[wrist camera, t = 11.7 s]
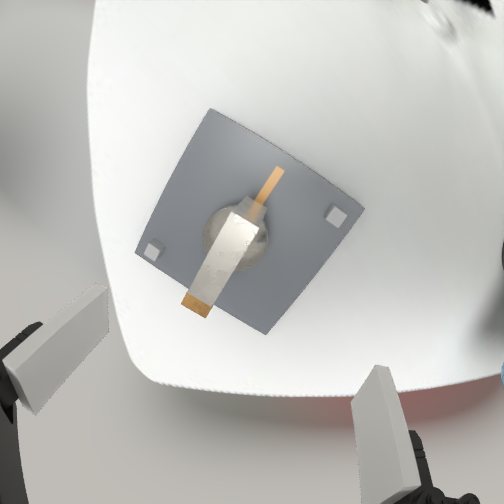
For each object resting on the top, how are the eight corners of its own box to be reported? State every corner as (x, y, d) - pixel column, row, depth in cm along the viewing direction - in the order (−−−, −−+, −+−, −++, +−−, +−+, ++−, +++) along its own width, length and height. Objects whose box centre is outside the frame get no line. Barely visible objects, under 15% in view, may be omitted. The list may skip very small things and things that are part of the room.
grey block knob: (230, 182, 35) (205, 196, 25) (286, 215, 36) (285, 243, 25) (192, 254, 39) (159, 291, 29) (243, 284, 39) (227, 330, 29)
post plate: (362, 207, 37) (368, 211, 34) (266, 330, 45) (264, 342, 42) (212, 109, 35) (205, 106, 32) (138, 250, 44) (128, 257, 41)
